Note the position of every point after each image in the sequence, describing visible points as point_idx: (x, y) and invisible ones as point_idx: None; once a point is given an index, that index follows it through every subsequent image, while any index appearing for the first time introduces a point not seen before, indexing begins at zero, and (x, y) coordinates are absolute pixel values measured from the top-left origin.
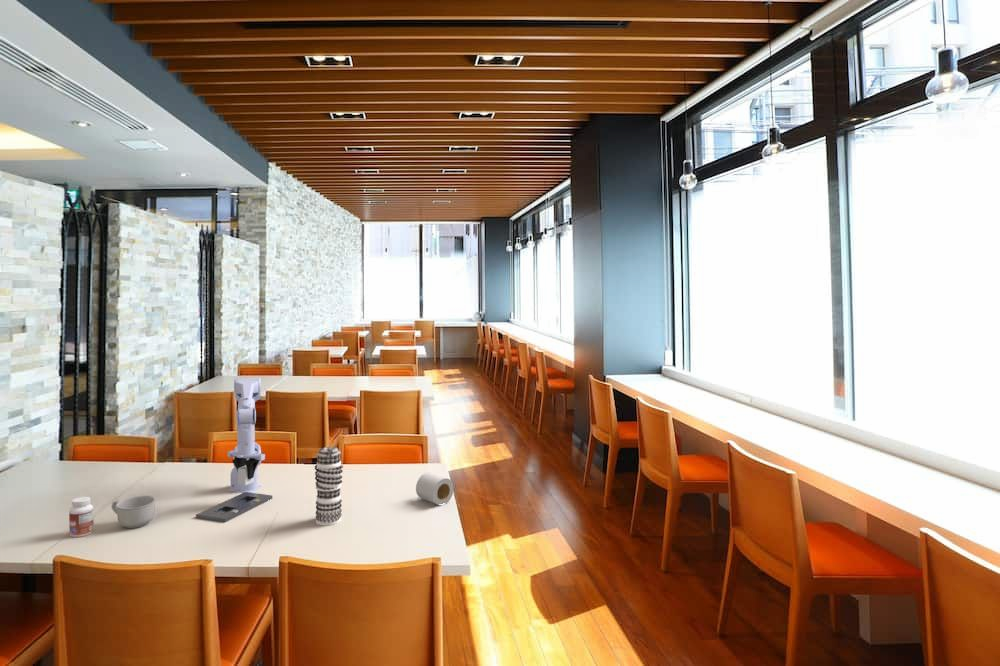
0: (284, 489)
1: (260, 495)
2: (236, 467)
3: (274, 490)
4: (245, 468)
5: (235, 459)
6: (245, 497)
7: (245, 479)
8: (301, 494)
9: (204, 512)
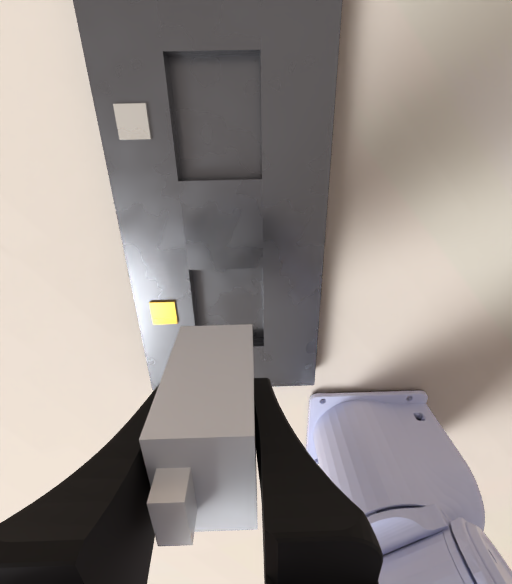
0: None
1: None
2: (295, 450)
3: None
4: (160, 456)
5: (344, 575)
6: (263, 334)
7: (170, 357)
8: (94, 451)
9: (312, 15)
